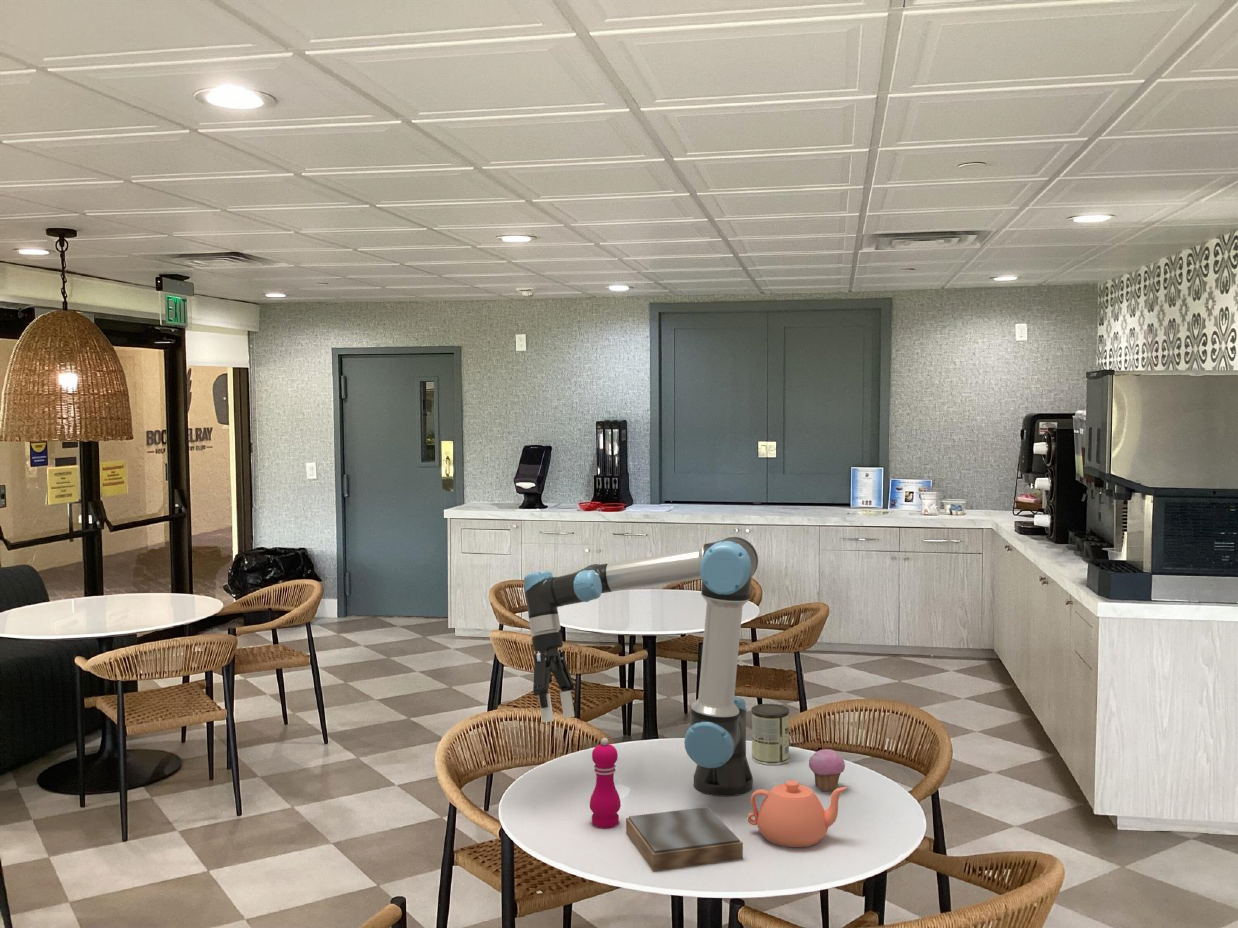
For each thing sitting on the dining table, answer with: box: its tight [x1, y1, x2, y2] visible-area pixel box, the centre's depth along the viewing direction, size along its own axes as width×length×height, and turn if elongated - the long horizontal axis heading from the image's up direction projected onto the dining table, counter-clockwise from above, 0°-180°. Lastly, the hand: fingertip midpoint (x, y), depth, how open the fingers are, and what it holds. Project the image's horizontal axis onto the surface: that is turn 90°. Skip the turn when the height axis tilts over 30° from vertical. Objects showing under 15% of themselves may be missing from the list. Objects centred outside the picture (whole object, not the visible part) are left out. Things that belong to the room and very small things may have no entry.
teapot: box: [747, 779, 848, 848], centre depth 221 cm, size 22×16×12 cm
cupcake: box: [808, 748, 846, 792], centre depth 250 cm, size 9×9×10 cm
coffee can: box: [750, 703, 790, 766], centre depth 272 cm, size 10×10×14 cm
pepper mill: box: [589, 737, 622, 829], centre depth 229 cm, size 7×7×20 cm
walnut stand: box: [625, 806, 744, 872], centre depth 217 cm, size 20×20×4 cm
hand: (558, 719), depth 244 cm, fingers open, 13 cm apart
